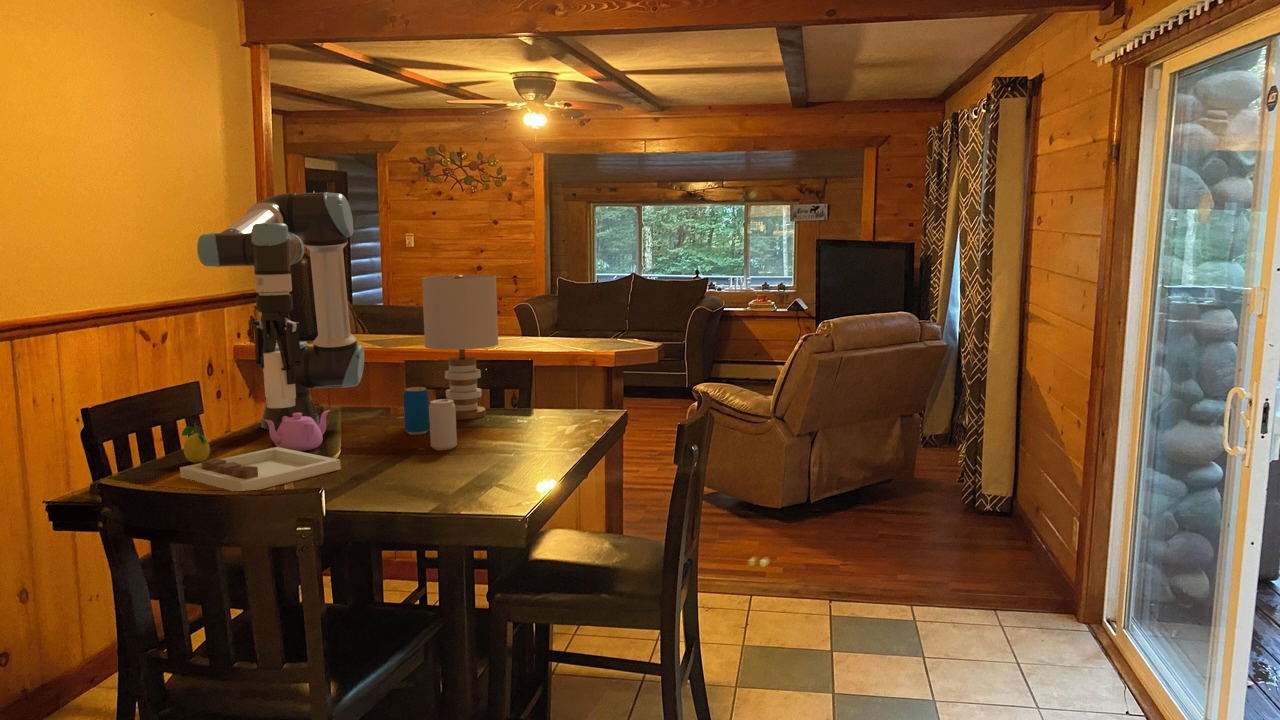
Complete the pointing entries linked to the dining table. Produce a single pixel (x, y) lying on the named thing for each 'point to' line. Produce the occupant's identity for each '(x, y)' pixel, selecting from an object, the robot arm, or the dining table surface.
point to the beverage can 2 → (442, 424)
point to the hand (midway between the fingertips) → (280, 397)
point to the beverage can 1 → (416, 410)
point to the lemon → (195, 445)
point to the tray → (265, 469)
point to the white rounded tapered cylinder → (275, 381)
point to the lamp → (461, 331)
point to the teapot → (298, 432)
